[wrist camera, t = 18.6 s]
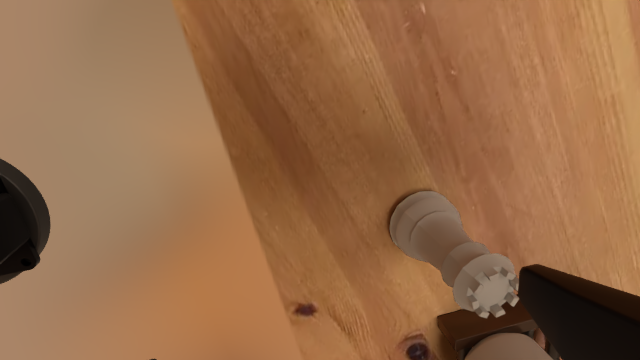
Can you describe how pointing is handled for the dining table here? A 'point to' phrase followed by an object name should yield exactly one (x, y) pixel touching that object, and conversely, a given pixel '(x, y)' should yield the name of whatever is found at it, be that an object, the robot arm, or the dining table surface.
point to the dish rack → (487, 327)
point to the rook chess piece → (454, 253)
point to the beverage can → (507, 348)
